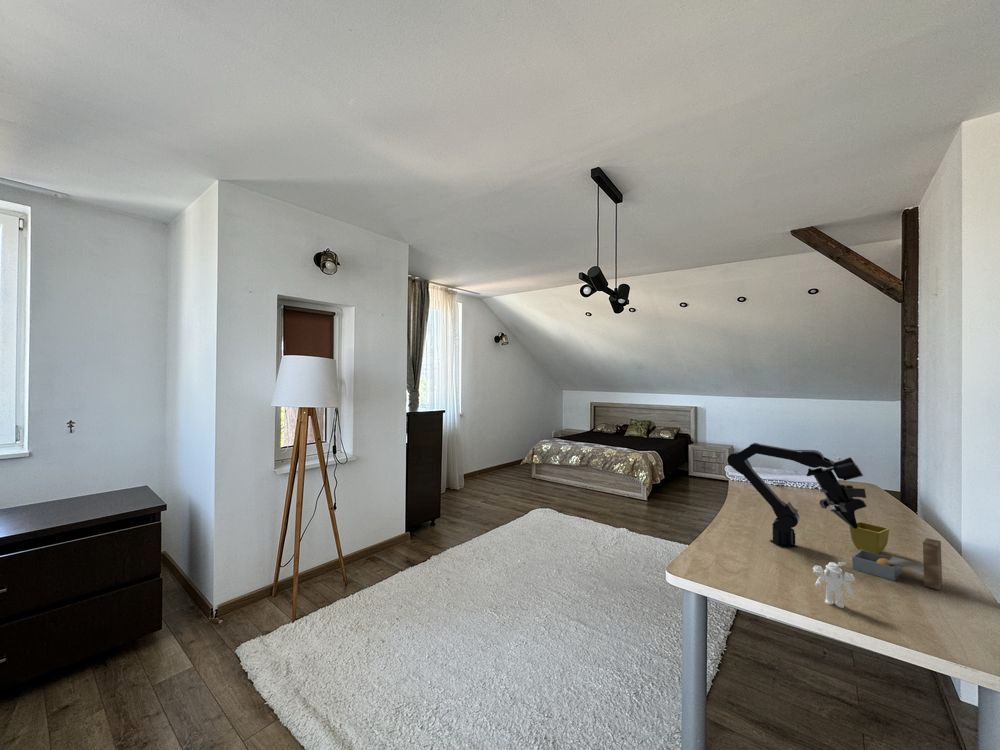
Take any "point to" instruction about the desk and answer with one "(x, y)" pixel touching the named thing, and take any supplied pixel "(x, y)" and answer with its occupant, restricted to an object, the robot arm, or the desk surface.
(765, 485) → the robot arm
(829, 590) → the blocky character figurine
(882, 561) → the ball
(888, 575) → the shallow blue-grey tray
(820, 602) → the desk surface
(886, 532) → the flower pot
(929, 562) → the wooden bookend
